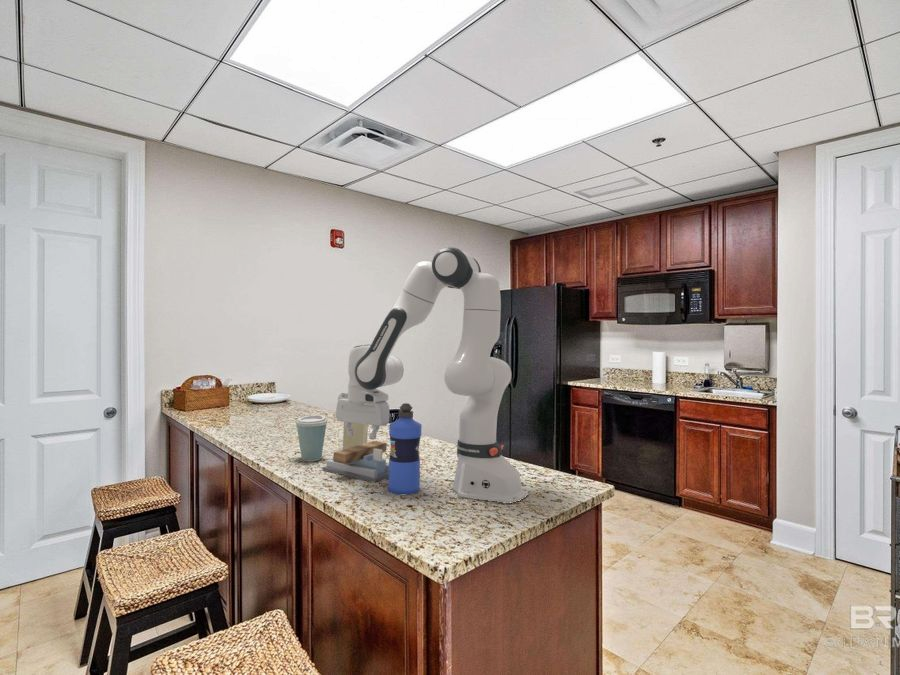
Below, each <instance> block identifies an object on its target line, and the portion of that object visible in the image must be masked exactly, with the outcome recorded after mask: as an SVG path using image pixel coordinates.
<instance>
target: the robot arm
mask: <svg viewBox="0 0 900 675" xmlns="http://www.w3.org/2000/svg"><path fill="white" fill-rule="evenodd" d="M445 288H449V289H457V290H461V292H462V295H463V313H462V314H463V315H462V333H461V339H460V342H459V345H458V348H457V351H456V353H455V356H454V357H453V359H452V361H451V362H450V363H448V365H447V366H446V368H445V371H444V374H443V376H444V383H445V386H446V387H447V389H448V391H450V392H451V393H453V394H455V395H458V396H459V395H460V396H463V397H468V399H467V402H466V403H465V406H464V407H463V408H462V410H461V411H460V413H459V423H458V424H459V425H458V427H459V428H458V429H459V430H458V439H457V441H456V442H457V445H456V446H457V447H456V456H457V464H456V471H455V475H454V480H453V483H452V486H451V488H452V490H453V491H454V492H456V494H457V496H458V497H460V498H465V499H473V500H478V499H479V501H485V500H488V502H492V501H497V502H496V503H499V502H505V503H504V504H506V503H510V502H511V503H512V502H515V501H518V500H520V499H522V498H524V497H525V496H526V495H527V494H528V492H529V488H528V487H526V486H522V480H521V474H520V472H519V470H518V469H517V468H516V467H515V466H514V465H512V463H511V462H509V460H507V459H506V458H505V457H504V456H503V455H502V450H503V449H504V446H505V445H504V444H502V445H500V443H499V442H498V441H497V426H498V424H497V423H498V413H499V408H500V404H501V402H502V398H503V395H504V392H505V390H506V388H507V387H508V386H509V384H511V383H510V382H511V381H512V369H511V367H510V366H509V364H508V363H507V362H506V361H505V360H502V359H501V358H497V357H494V356H491V353H492V350H493V348H494V346H495V344H496V343H497V342H498V340H499V339H500V335H501V333H500V332H501V318H502V316H501V311H502V310H501V309H502V302H501V301H502V300H501V299H502V297H501V288H500V283H499V280H498V278H497V277H496V276H494V275H492V274H491V273H486V272H482V270H481V267H480V264H479V262H478V261H477V260H476V259H475V258H474V257H472V256H471V255H470V254H469V253H467V252H465V251H464V250H461V249H459V248H457V247H445V248H441V249H439V251H437V252H436V253H435V255H434V256H433V258H432V260H431V261H428V260H425V261H424V260H423V261H420V262H417V263H416V264H415V265H414V267H413V268H412V270H411V272H410V273H409V274H408V276H407V278H406V280H405V281H404V284H403V286H402V288H401V290H400V293H399V295H398V297H397V299H396V301H395V303H394V305H393V306H392V308H391V310H390V311H389V313H388V314H387V315H386V317H385V319H384V320H383V322H382V324H381V326H380V327H379V329H378V330H377V333H376V334H375V336H374V338H373V340H372V342H371V344H360V345H356V346H354V347H352V348H351V349H350V351H349V355H348V367H347V369H348V370H347V372H348V376H349V381H348V384H347V390H348V391H347V393H346V392H345V393H344V392H342V393H340V394H339V395H338V397H337V402H336V403H337V404H336V407H335V419H336V421H337V422H343V426H344V425H345V427H346V429H347V435H348V436H353V435H354V430H352V427H351V424H352V423H360V424H368V426H369V425H370V426H371V429H372V430H371V432H369V434H368V436H369V437H368V439H370V440H375V439H377V434H378V431H379V429H380V427H384V426H387V425H388V424H390V423H389V422H390V406H389V403H388V401H389V395H388V393H385V392H383V391H382V390H379V388H382V387H387V386H391V385H394V384H396V383H398V382H399V381H401V379H402V378H403V375H404V371H405V370H404V364H403V363H402V361H401V360H400V358H398V357H396V356H394V355H391V353H392V351H393V349H394V347H395V345H396V343H397V342H398V340H399V338H400V337H401V336H402V335H403V334H404V333H405V332H406V331H408V330H409V329H411V328H413V327H415V326H418V325H420V324H422V323H423V322H425V321H426V319H427V318H428V317H429V316H430V314H431V313H432V310H433V308H434V307H435V303H436V301H437V299H438V296H439V295H440V293H441V291H442V290H443V289H445ZM345 396H346V397H345ZM344 422H345V424H344ZM528 495H529V494H528ZM512 504H513V503H512Z"/></svg>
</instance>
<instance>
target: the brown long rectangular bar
mask: <svg viewBox="0 0 900 675" xmlns="http://www.w3.org/2000/svg"><path fill="white" fill-rule="evenodd" d="M387 446H388V444H387V442H384V441H378V440H373V441H369V442H367V443H365V444H361V445H358V446H354V447H350V448H347V449H343V448H342V449H340V450H335V451H333V457H334V460H333V459H332V460H333V462H337V463H342V464H348V463H351V462H354V461H357V460H361V459H363V456H365V455H369V454H372V453H373V450H374V449H375V448H376V449H381V450H382V454H383V453H386V452H387Z"/></svg>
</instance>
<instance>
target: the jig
mask: <svg viewBox="0 0 900 675" xmlns="http://www.w3.org/2000/svg"><path fill="white" fill-rule="evenodd" d="M324 470H325V472H328V471H330V472H329V473H332V472H334V473H333V474H336V473H338V474H337V475H341V474H342V475H341V476H345V475H346V476H345V477H350V478H353V477H354V478H355V479H359V480H362V481H368V482H370V483H377V482H379V481H381V480H385V479H386V478H389V463H386V472H384V473H382V474H379V475H377V472H378V470H375V469H370V468H365V467H361V466H356V465H352V464H342V463H337V462H333V459H329V460H327V461H326V466H322V471H324Z"/></svg>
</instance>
